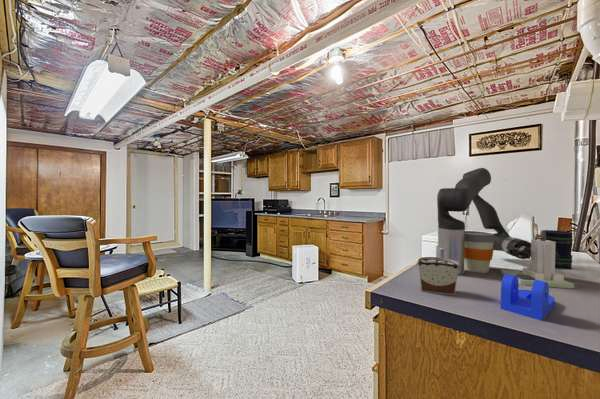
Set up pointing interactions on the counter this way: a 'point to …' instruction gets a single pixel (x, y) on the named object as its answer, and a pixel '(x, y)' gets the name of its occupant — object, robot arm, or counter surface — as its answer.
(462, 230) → the robot arm
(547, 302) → the bracket
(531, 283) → the board
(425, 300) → the counter surface
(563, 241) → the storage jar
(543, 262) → the plug
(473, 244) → the reusable coffee cup
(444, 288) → the food container
